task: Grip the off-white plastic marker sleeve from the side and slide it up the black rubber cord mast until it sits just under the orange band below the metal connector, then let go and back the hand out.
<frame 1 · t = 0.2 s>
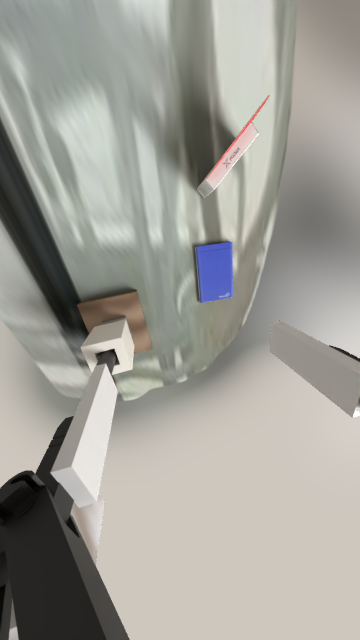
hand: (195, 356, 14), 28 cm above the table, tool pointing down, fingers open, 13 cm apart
ink cartridge box: (218, 170, 34), on the table
marker sleeve: (111, 346, 31), point 10 cm above the table, slide at 0.0 cm
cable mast: (119, 325, 40), on the table
hard drive: (213, 273, 41), on the table
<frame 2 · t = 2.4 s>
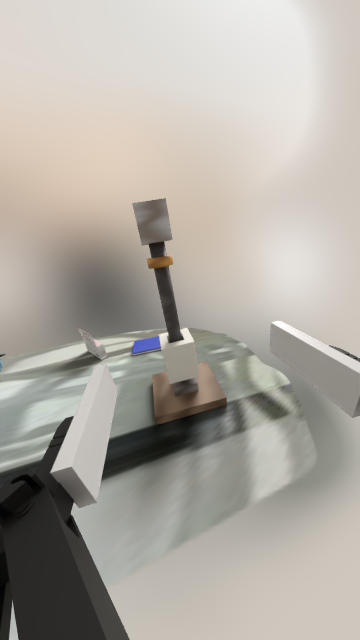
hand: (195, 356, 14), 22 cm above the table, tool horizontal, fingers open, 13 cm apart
ink cartridge box: (97, 354, 61), on the table
marker sleeve: (178, 354, 35), point 10 cm above the table, slide at 0.0 cm
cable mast: (186, 391, 39), on the table
hard drive: (152, 347, 61), on the table
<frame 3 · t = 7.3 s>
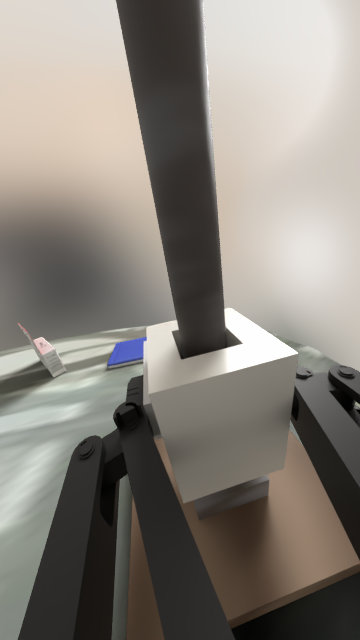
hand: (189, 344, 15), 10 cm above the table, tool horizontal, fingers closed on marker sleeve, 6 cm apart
ink cartridge box: (53, 366, 37), on the table
marker sleeve: (210, 392, 11), point 10 cm above the table, slide at 0.0 cm, touching gripper
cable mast: (221, 479, 15), on the table
hard drive: (144, 352, 37), on the table
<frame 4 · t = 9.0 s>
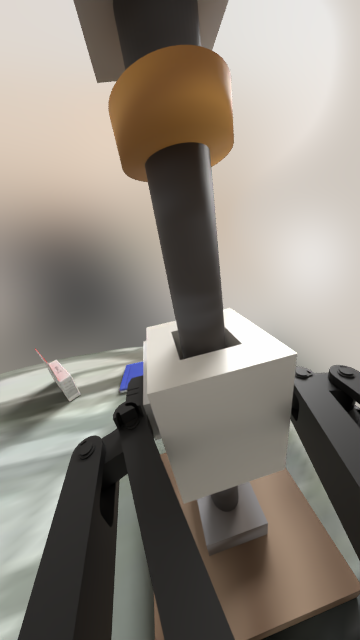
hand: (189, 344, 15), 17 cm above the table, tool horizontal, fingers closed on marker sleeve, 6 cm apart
ink cartridge box: (67, 388, 39), on the table
marker sleeve: (210, 392, 11), point 16 cm above the table, slide at 6.0 cm, touching gripper
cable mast: (227, 513, 17), on the table
hard drive: (152, 375, 39), on the table
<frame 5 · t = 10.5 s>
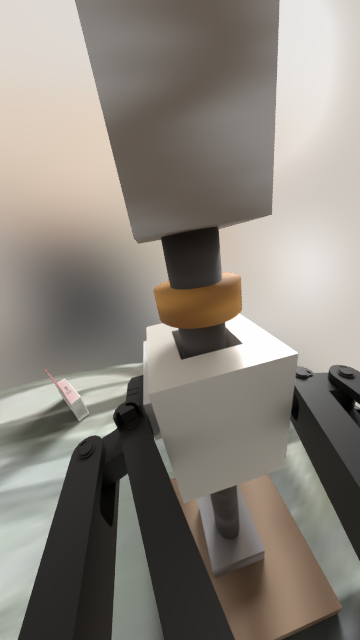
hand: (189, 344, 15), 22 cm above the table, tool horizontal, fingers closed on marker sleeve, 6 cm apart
ink cartridge box: (76, 407, 42), on the table
marker sleeve: (210, 392, 11), point 22 cm above the table, slide at 11.9 cm, touching gripper
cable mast: (229, 537, 20), on the table
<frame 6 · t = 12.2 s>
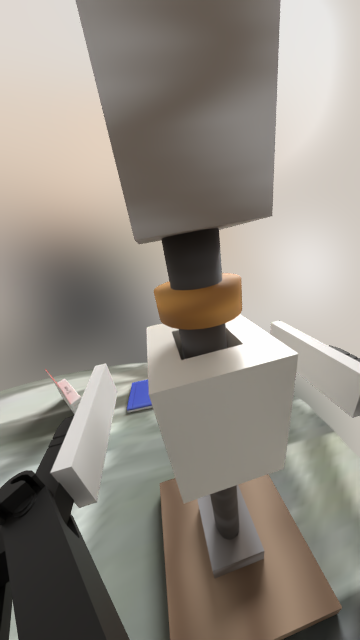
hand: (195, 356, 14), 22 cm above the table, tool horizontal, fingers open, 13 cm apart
ink cartridge box: (76, 407, 42), on the table
marker sleeve: (210, 392, 11), point 22 cm above the table, slide at 12.0 cm
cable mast: (229, 537, 20), on the table
hard drive: (157, 394, 42), on the table
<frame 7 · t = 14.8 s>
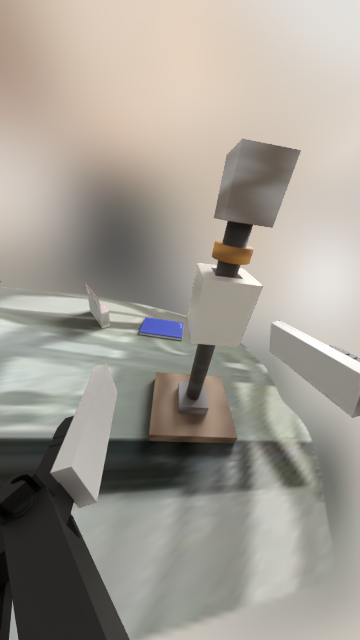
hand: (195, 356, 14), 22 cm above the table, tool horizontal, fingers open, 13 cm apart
ink cartridge box: (99, 319, 54), on the table
marker sleeve: (217, 304, 22), point 22 cm above the table, slide at 12.0 cm
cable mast: (189, 406, 33), on the table
hard drive: (162, 331, 54), on the table
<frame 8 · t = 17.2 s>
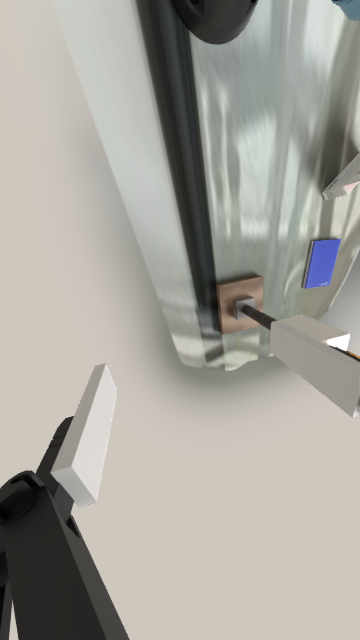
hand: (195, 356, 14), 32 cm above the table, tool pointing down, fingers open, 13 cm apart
ink cartridge box: (340, 177, 42), on the table
marker sleeve: (304, 343, 29), point 22 cm above the table, slide at 12.0 cm
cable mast: (238, 304, 49), on the table
hard drive: (317, 264, 50), on the table
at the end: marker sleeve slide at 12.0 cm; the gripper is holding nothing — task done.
